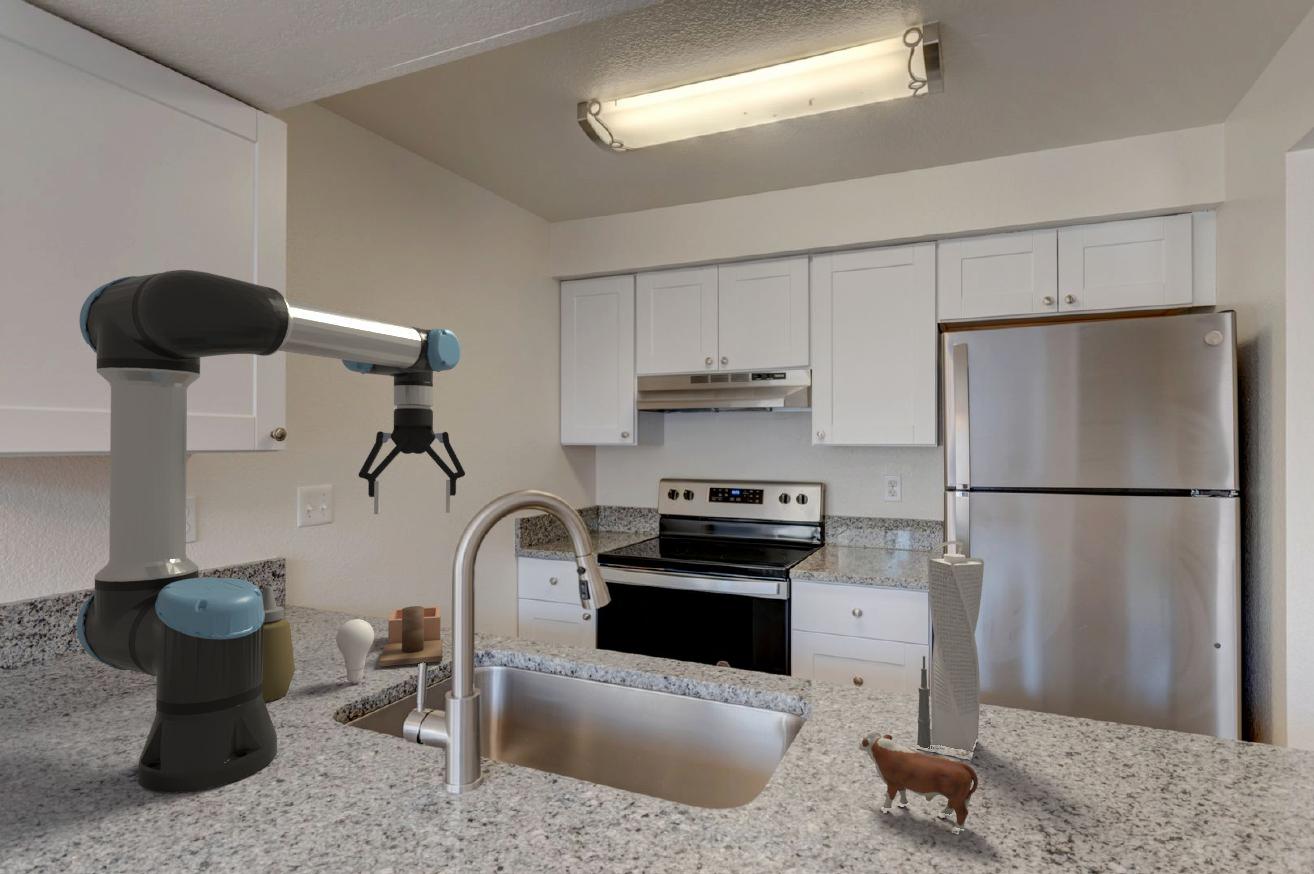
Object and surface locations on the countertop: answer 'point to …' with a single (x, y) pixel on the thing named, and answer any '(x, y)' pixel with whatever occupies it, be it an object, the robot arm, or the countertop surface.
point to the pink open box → (430, 625)
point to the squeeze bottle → (276, 649)
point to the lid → (412, 642)
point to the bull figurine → (920, 774)
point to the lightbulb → (355, 646)
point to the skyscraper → (952, 653)
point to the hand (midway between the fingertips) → (413, 512)
